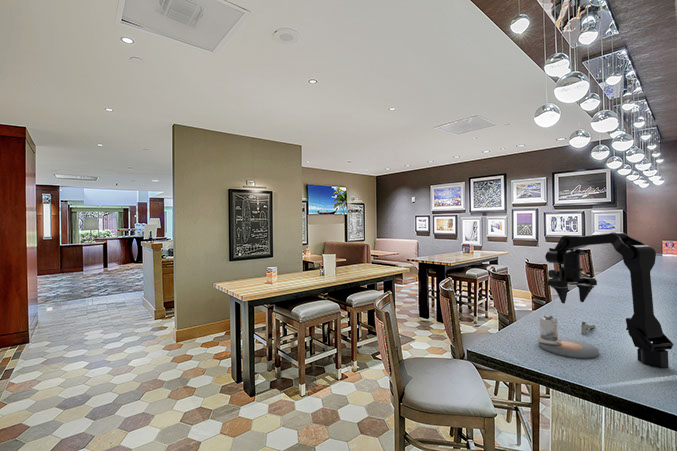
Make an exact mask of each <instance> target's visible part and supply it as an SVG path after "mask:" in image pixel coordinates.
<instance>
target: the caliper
mask: <svg viewBox="0 0 677 451" xmlns="http://www.w3.org/2000/svg"><path fill="white" fill-rule="evenodd" d="M595 327H596V326H595V324H587V322H586V321H582V322H581V331H580V332H581V335H583V336H584V335H586V334H587V332H588V331H589V329H590V330H591V329H595Z"/></svg>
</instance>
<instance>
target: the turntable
mask: <svg viewBox="0 0 677 451" xmlns="http://www.w3.org/2000/svg"><path fill="white" fill-rule="evenodd" d="M558 338H559V339H561V345H560V346H549V345H544V344H541V343H539V342H538V345H539V347H540V348H541V349H543V350H545V351H547V352H549V353H551V354H555V355H559V356H563V357H568V358H575V359H594V358H595V359H596V358H597V357H599V356H600V350H599V349H598V347H597V346H595V345H592V344H591V343H588V342H585V341H582V340H578V339H575V338H574V339H573V338H568V337H562V336H560V337H559V336H558Z"/></svg>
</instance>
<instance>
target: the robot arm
mask: <svg viewBox="0 0 677 451" xmlns="http://www.w3.org/2000/svg"><path fill="white" fill-rule="evenodd" d="M609 244H611V245H612V246H613V248H614V250H615V251H616V252H617V253H618V254H620V256H621V257H622V260H623V264H624V265H625V266H626V268H627V270H629V273H630V285H631V286H630V287H631V296H632V297H631V298H632V308H633V310H632V311H633V314H632V316H631V317H626V318H625V324H626V328H625V331H627V332H628V335H629V337H630V338H631V341H632V343H633V346H634V347H635V348H637V350H636V351H637V352H636V353H637V361H639V362H641V364H643V365H645V366H648V367H652V368H657V369H660V370H664V369H669V351H668V350H672V349H673V346H674V343H673V342H672V340H670V339H669V337H667V336H666V334H665V333H664V331H663V328H662V324H661V323H660V321H659V320H658V319H657V317H656V316H655V312H654V300H653V290H652V281H651V280H652V278H651V277H652V276H651V271H652V269H653V267H654V265H655V264H656V259H657V258H656V257H657V256H656V255H657V253H656V250H655V249H654V248H653V247H652V246H650V245H647V244H645V243H644V242H641V241H639V240H638V239H635V238H633V237H631V236H630V235H628V234H626V233H625V232H621V231H618V232H617V231H616V232H615V231H613V232H609V233H601V234H594V235H580V234H579V235H562V236H561V237H560V239H559V241H558V243H557V244H556V245H555V246H554V247H549V248H548V251H547V252H546V253H545V256H544V258H545V260H546V262H547V263H549V264H558V265H563V266H562V267H560V268H559V270H558V271H556V270H555V269H550V270H548V271H547V274H548V278H549V279H548V280H547V286H549V287H550V288H552V289H554V290H555V291H556V293H557V295H558V297H559V300H560V302H561V303H562V304H563V305H564V304H565V303H566V302H567V295H568V290H569V287H568V286H569V285H575V286H576V287H577V288H578V293H579V294H578V295H579V301H580V303H584V302H585V300H586V298H587V297H588V296H589V294H590V293H591V292H592V289H594V288H595V286H598V280H597V279H596V278H593V277H588V276H587V277H586V276H581V272H582V271H584V268H583V267H582V268H581V256H585V255H586V253H585V252H584V251H583V250H582V248H586V247H587V246H594V245H595V246H597V245H609Z"/></svg>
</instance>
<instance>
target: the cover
mask: <svg viewBox="0 0 677 451" xmlns="http://www.w3.org/2000/svg"><path fill="white" fill-rule="evenodd" d="M558 330H559V328H558V319H557V318H554V317H553V316H552V315H549V314H548V315H547V314H545V315H543V316H540V317H539V335H537V337H536V338H537V342H538V344H539V343H541V344H544V345H549V346H560V345H561V339H559V338H558V337H559V336H558V335H559V334H558V333H559V331H558Z"/></svg>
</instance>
